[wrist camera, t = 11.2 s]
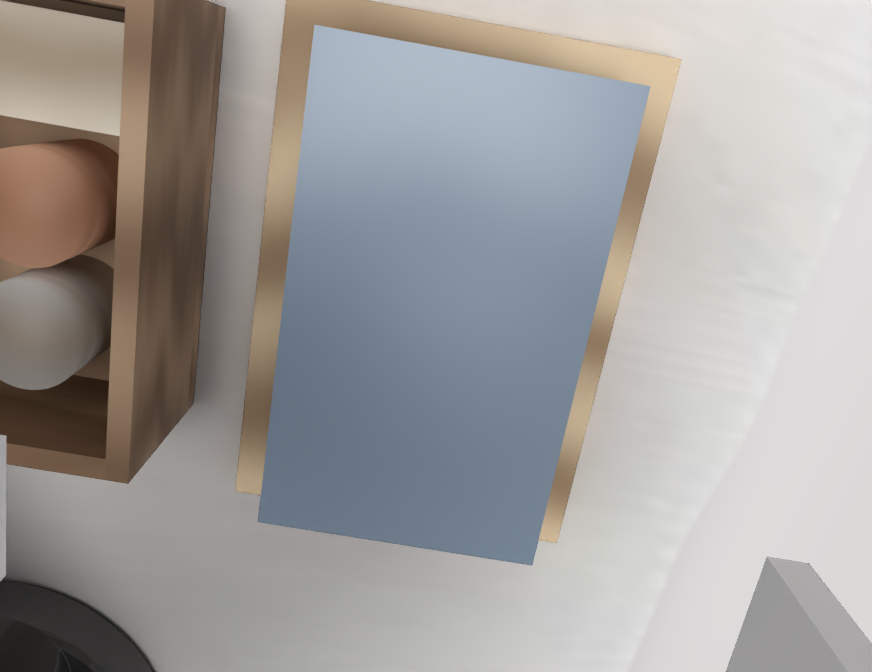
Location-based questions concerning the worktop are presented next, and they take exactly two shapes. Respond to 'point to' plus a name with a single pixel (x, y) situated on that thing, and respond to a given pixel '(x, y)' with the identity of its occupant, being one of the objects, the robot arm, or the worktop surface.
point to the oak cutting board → (350, 10)
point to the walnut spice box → (102, 225)
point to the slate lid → (439, 291)
